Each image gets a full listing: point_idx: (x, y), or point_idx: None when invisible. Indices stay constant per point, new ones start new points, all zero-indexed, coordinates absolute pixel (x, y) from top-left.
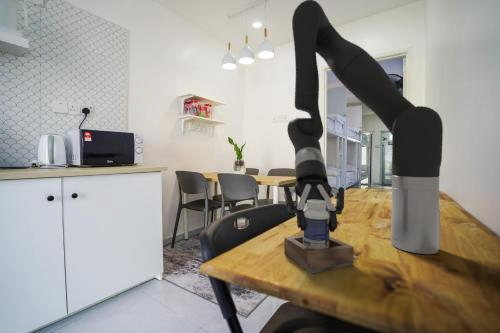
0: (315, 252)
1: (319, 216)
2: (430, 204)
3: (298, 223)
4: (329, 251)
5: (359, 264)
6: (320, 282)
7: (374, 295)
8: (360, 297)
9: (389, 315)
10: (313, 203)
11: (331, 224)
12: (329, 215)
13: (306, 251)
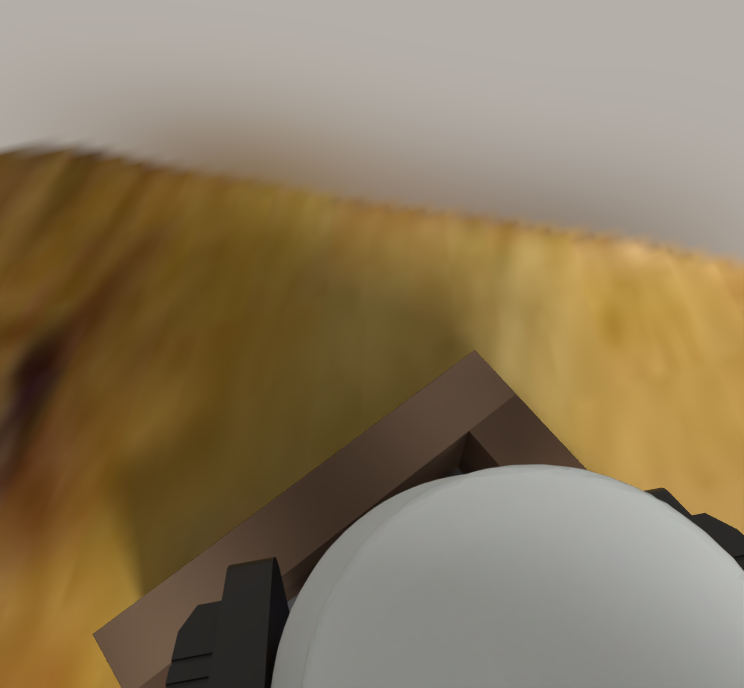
0: (449, 387)
1: (440, 479)
2: None
3: (715, 522)
4: (336, 453)
5: (97, 671)
6: (405, 321)
7: (149, 279)
8: (222, 246)
9: (144, 165)
10: (590, 478)
11: (272, 577)
12: (272, 677)
13: (522, 403)
